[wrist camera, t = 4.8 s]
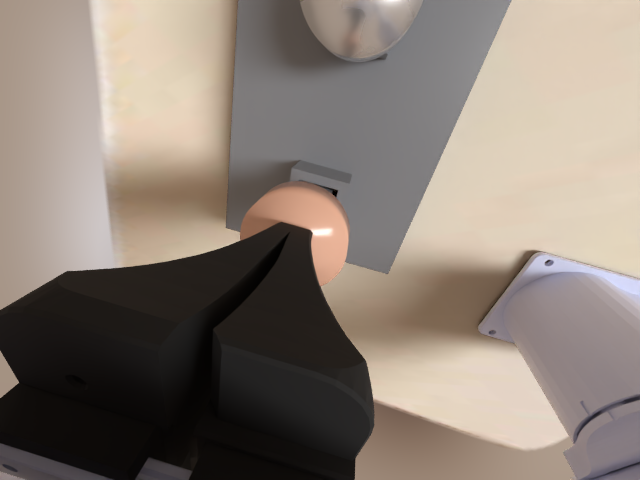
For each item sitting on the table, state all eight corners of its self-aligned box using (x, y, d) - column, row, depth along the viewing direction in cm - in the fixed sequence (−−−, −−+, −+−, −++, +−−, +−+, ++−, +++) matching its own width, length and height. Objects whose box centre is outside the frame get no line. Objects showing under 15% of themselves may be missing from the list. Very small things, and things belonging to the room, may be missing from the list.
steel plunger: (423, -28, 13) (457, -104, 8) (390, 78, 15) (400, 70, 10) (334, -50, 13) (312, -139, 8) (314, 58, 15) (288, 41, 10)
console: (530, -76, 12) (600, -150, 8) (386, 258, 20) (389, 292, 17) (265, -139, 12) (222, -236, 8) (237, 216, 21) (211, 241, 17)
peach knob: (364, 172, 14) (361, 212, 10) (342, 240, 17) (331, 301, 12) (286, 151, 15) (244, 179, 10) (275, 221, 17) (236, 273, 12)
